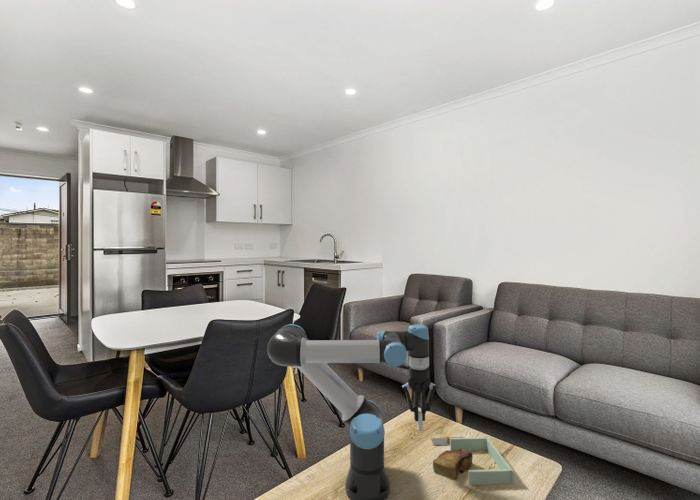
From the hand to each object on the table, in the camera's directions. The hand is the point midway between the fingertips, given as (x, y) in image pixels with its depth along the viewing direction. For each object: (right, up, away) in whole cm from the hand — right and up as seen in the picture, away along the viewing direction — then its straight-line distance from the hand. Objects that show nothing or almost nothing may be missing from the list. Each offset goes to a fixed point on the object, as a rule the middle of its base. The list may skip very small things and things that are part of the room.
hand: (419, 429), depth 136 cm
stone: (+12, -15, -1) cm, 19 cm away
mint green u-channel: (+22, -14, +1) cm, 26 cm away
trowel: (+15, -14, +17) cm, 26 cm away
